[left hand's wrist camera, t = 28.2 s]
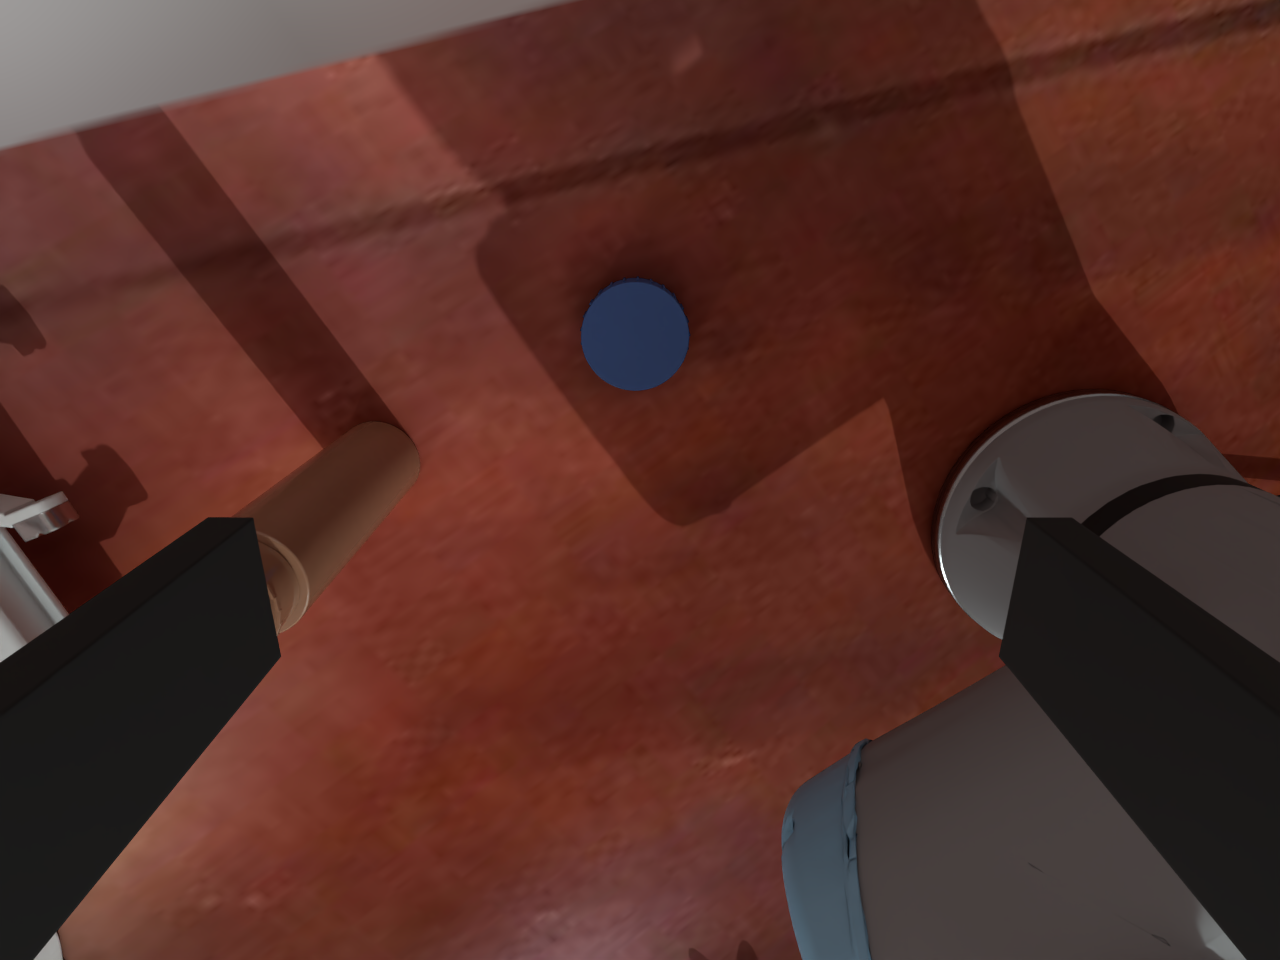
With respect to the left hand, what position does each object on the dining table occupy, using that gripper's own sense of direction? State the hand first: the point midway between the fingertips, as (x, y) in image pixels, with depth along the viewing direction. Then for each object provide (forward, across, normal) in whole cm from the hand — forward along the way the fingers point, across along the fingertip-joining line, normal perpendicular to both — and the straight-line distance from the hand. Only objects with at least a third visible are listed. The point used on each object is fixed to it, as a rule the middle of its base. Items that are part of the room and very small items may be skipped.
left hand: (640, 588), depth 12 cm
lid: (+25, 0, 0) cm, 25 cm away
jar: (+27, +15, +7) cm, 32 cm away
